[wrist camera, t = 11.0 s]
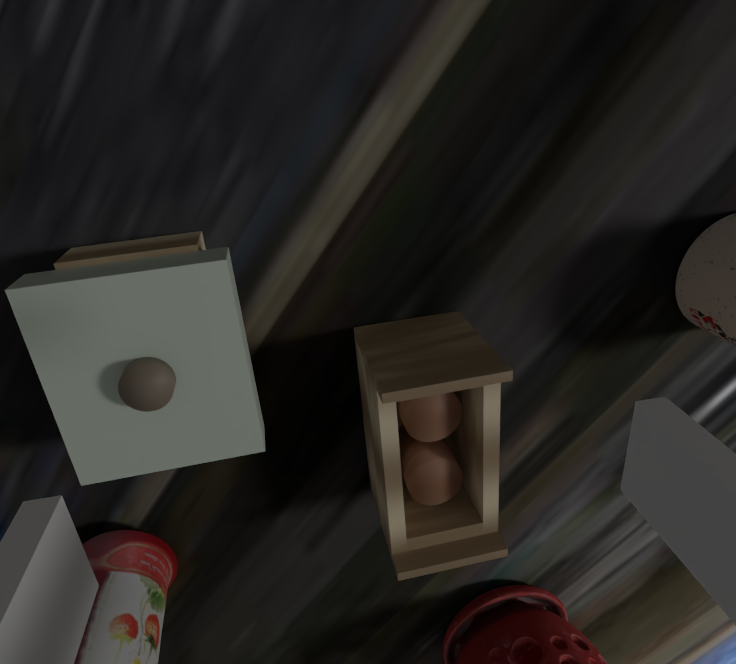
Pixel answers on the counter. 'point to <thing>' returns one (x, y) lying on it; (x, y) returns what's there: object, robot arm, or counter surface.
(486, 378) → the wooden box
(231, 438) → the lid
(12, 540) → the robot arm
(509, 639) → the plant pot
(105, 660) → the liquor
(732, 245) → the teacup with lid
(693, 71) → the counter surface
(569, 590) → the counter surface
